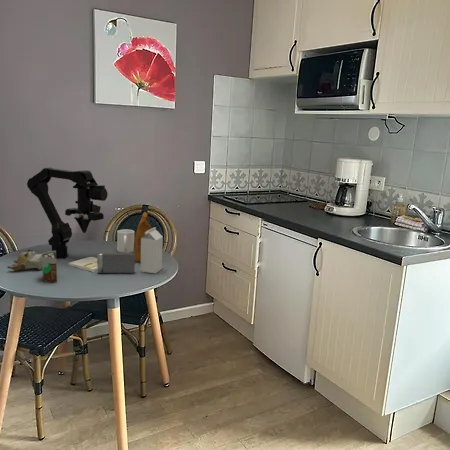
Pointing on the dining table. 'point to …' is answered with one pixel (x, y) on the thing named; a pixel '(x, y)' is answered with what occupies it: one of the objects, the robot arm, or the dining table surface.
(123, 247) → the mug
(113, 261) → the swing panel
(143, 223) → the coffee package
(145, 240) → the milk carton
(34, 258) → the ceramic sculpture
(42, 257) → the food container
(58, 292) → the dining table surface
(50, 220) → the robot arm
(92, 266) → the label board
